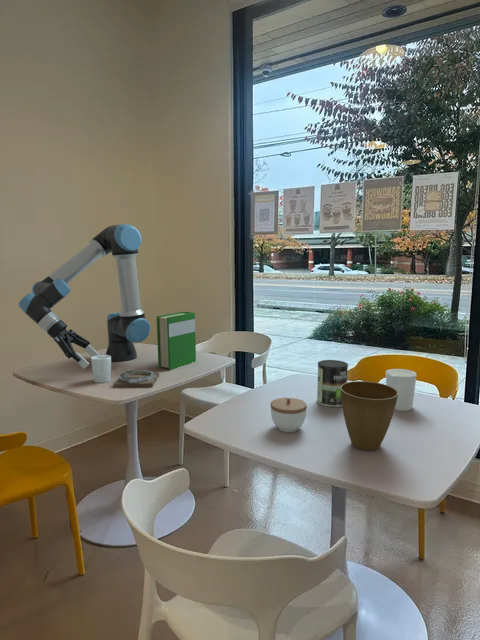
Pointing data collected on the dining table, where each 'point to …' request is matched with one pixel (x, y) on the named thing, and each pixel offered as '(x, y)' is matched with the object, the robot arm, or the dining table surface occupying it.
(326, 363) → the coffee can
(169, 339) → the hardback book
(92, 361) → the white cup
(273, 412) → the lidded jar
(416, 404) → the dining table surface
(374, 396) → the plant pot
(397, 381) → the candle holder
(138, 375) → the ring holder
